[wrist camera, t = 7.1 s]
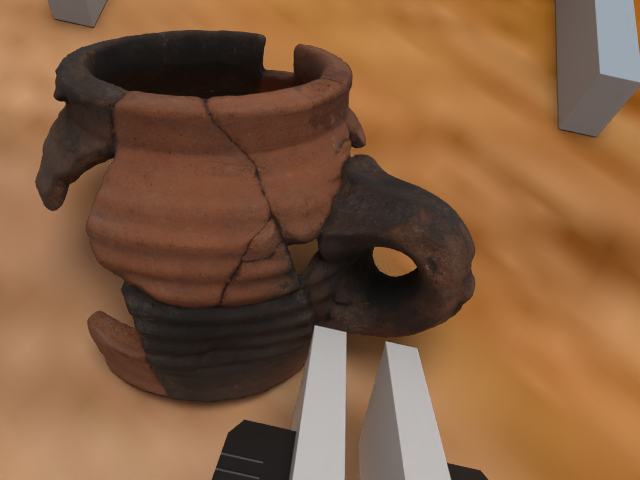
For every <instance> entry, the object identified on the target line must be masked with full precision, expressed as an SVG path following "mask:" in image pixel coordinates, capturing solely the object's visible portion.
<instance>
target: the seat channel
mask: <svg viewBox="0 0 640 480" xmlns="http://www.w3.org/2000/svg"><path fill="white" fill-rule="evenodd" d="M106 1H107V0H48V3H49V6H50V9H51V12H52V15H53V17H54V19H58V20H63V21H68V22H72V23H77V24H81V25H86V26H90V27H94V25H95V23H96V21H97V19H98V17H99V15H100V13H101V11H102V9H103V7H104V5H105V3H106ZM555 3H556V44H557V85H558V126H559V129H563V130H567V131H572V132H576V133H581V134H586V135H590V136H595V137H597V136H598V134H599V133H600V132H601V131H602V130H603V129H604V127H605V126H606V125H607V124H608V123H609V122H610V121H611V119H612V118H613V117H614V116H615V115H616V114H617V112H618V111H619V110H620V109H621V108H622V107H623V105H624V104H625V103H626V102H627V101H628V100H629V98H630V97H631V96H632V95H633V94H634V93H635V91H636V90H637V89H638V88H639V87H640V55H639V46H638V37H637V29H636V20H635V11H634V3H633V0H555Z"/></svg>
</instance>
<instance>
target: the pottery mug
mask: <svg viewBox="0 0 640 480" xmlns="http://www.w3.org/2000/svg"><path fill="white" fill-rule="evenodd" d="M265 43H266V37H265V36H264V35H261V34H256V33H248V32H237V31H224V30H221V31H203V30H184V31H168V32H161V33H150V34H143V35H135V36H125V37H121V38H118V39H111V40H107V41H102V42H98V43H95V44H92V45H89V46H85V47H81V48H80V49H77V50H76V51H74V52H72V53H70V54H68V55H67V57H65V58H64V59H63V60H62V61H61V63H60V64H59V67H58V68H57V69H56V71H55V72H56V75H57V76H56V80H55V85H56V89H55V92H54V98H55V99H56V100H58V101H64V102H66V105H65V107H64V108H63V109H62V110H61V111H60V113H59V115H58V118H57V119H56V120H55V122H54V123H53V125H52V126H51V129H50V131H49V134H48V136H47V137H46V139H45V142H44V145H43V156H42V160H41V165H40V169H39V172H38V174H37V177H36V181H35V183H36V187H37V189H38V192H39V194H40V197H41V199H42V201H43V204H44V205H45V207H46V208H48V209H49V210H51V211H54V210H57V209H58V208H60V207H61V206H62V204H63V202H64V200H65V197H66V194H67V191H68V187H69V185H70V184H71V183H73V182H75V181H76V180H77V179H78V178H79V177H80V176H81V175H82V174H83V173H84V172H86V171H87V170H89V169H91V168H92V167H93V166H95V165H97V164H100V163H103V162H105V161H107V160H109V159H112V158H114V160H113V162H112V163H111V165H110V166H109V168H108V170H107V171H106V173H105V174H104V177H103V184H102V186H101V188H100V190H99V191H98V192H97V195H96V198H95V200H94V203H93V207H92V211H91V213H90V215H89V218H88V220H87V224H86V233H87V235H88V237H89V239H90V243H91V247H92V251H93V253H94V254H95V256H96V259H97V261H98V262H99V263H100V264H101V265H102V266H103V267H105V268H106V269H108V270H109V271H111V272H113V273H114V274H115V275H117V276H119V277H121V278H123V279H124V284H123V286H122V289H121V291H122V294H123V296H124V298H125V302H126V306H127V308H128V311H129V313H130V314H131V315H132V317H133V319H134V323H135V327H136V328H132V327H130V326H128V325H126V324H124V323H121V322H119V321H118V320H116V319H114V318H112V317H111V316H109V315H107V314H106V313H104V312H102V311H97V312H95V313H94V314H92V315H91V316H90V317H89V319H88V322H87V324H88V329H89V332H90V334H91V337H92V338H93V340H94V342H95V343H96V345H97V347H98V348H99V350H100V352H101V353H102V354H103V355H104V357H105V359H106V361H107V364H108V366H109V368H110V370H111V371H112V372H113V373H115V374H116V375H118V376H119V377H120V378H121V379H123V380H124V381H126V382H127V383H130V384H132V385H134V386H136V387H138V388H140V389H142V390H145V391H148V392H152V393H156V394H159V395H163V396H170V397H172V398H175V399H182V400H200V401H207V402H212V401H219V400H225V399H233V398H243V397H246V396H250V395H254V394H258V393H260V392H263V391H265V390H267V389H269V388H270V387H272V386H274V385H277V384H279V383H280V382H283V381H285V380H286V379H287V378H289V377H291V376H293V375H294V374H295V373H297V372H298V371H300V370H301V368H302V367H303V365H304V362H305V360H306V358H307V355H308V352H309V348H310V344H311V340H312V335H313V331H314V327H315V325H316V326H320V327H325V328H329V329H334V330H338V331H343V332H347V333H353V334H362V335H371V336H379V337H402V336H410V335H414V334H417V333H420V332H422V331H425V330H427V329H430V328H433V327H435V326H437V325H439V324H442V323H444V322H446V321H447V320H448V319H449V318H450V317H453V316H454V315H456V313H457V312H458V311H459V310H460V309H461V307H462V305H463V304H464V303H466V302H467V301H468V300H469V299H470V298H471V297H472V296H473V292H474V289H475V278H474V276H473V274H472V270H471V262H472V260H473V257H474V255H475V246H474V242H473V240H472V237H471V235H470V233H469V230H468V229H467V227H466V225H465V224H464V222H463V221H462V219H461V218H460V217H459V215H458V214H457V213H456V211H455V210H454V209H453V208H452V207H451V206H450V205H448V204H447V203H446V202H444V201H443V200H442V199H440V198H439V197H437V196H436V195H434V194H432V193H430V192H428V191H427V190H425V189H422V188H420V187H419V186H416V185H413V184H411V183H408V182H405V181H403V180H400V179H398V178H395V177H393V176H391V175H389V174H388V173H386V172H385V171H384V170H382V168H381V167H380V166H379V165H378V164H377V162H376V161H375V160H374V159H373V158H372V157H370V156H368V155H363V154H361V155H355V156H353V157H351V156H350V149H351V146H352V147H354V148H361V147H363V146H365V145H366V138H365V135H364V132H363V128H362V126H361V124H360V123H359V121H358V119H357V117H356V115H355V114H354V113H353V111H352V110H351V109H350V108H349V107H348V105H349V91H350V88H351V86H352V71H351V68H350V66H349V65H348V64H347V63H346V62H344V61H343V60H342V59H341V58H339V57H337V56H336V55H334V54H332V53H330V52H328V51H326V50H323V49H321V48H318V47H314V46H310V45H303V44H298V45H297V46H296V47H295V50H294V73H292V72H286V71H275V70H266V69H264V67H263V54H264V46H265ZM314 239H318V248H319V250H318V252H317V253H316V254H315V255H314V257H313V258H312V259H311V261H310V263H309V264H308V266H307V268H306V269H305V271H304V272H303V274H302V275H301V276H299V275H298V274H297V273H296V271H295V269H294V266H293V263H292V260H291V257H290V252H289V250H288V248H287V246H288V245H292V244H304V243H308V242H310V241H312V240H314ZM374 247H386V248H391V249H394V250H397V251H400V252H402V253H404V254H405V255H407V256H409V257H410V258H411V259H412V260H413V262H414V263H415V265H416V266H417V268H416V269H415V270H413V271H411V272H410V273H408V274H405V275H402V276H397V277H393V276H388V275H386V274H384V273H382V272H380V271H379V270H378V268H377V267H376V265H375V263H374V260H373V250H374Z"/></svg>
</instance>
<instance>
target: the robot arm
mask: <svg viewBox="0 0 640 480" xmlns="http://www.w3.org/2000/svg"><path fill="white" fill-rule="evenodd" d="M346 334H347V332H343V331H338V330H334V329H329V328H325V327H320V326H316V325H315V327H314V331H313V335H312V340H311V344H310V348H309V352H308V357H307V361H306V365H305V369H304V374H303V378H302V382H301V386H300V391H299V395H298V399H297V403H296V407H295V412H294V416H293V420H292V424H291V430H288V429H284V428H279V427H275V426H270V425H266V424H261V423H257V422H252V421H248V420H244V421H242V422H241V423H240V424H239V425H237V426H236V427H235V428H234V429H232V430H231V431H230V432H229V433H228V435H227V438H226V441H225V443H224V446H223V449H222V453H221V455H220V458H219V461H218V463H217V466H216V470H215V472H214V475H213V478H212V480H345V409H346ZM359 474H360V480H488V479H487V478H486V477H485V475H484V474H483V473H482V472H481V471H480V470H476V469H472V468H467V467H463V466H458V465H454V464H449V463H447V462H446V458H445V454H444V450H443V446H442V443H441V439H440V435H439V431H438V427H437V423H436V419H435V415H434V411H433V407H432V404H431V400H430V396H429V392H428V388H427V384H426V380H425V376H424V372H423V368H422V365H421V361H420V357H419V353H418V349H417V348H414V347H409V346H405V345H400V344H396V343H392V342H387V341H386V342H385V346H384V350H383V353H382V357H381V361H380V364H379V368H378V372H377V375H376V379H375V383H374V387H373V390H372V394H371V398H370V401H369V405H368V409H367V412H366V416H365V420H364V424H363V427H362V431H361V435H360V438H359Z"/></svg>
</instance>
